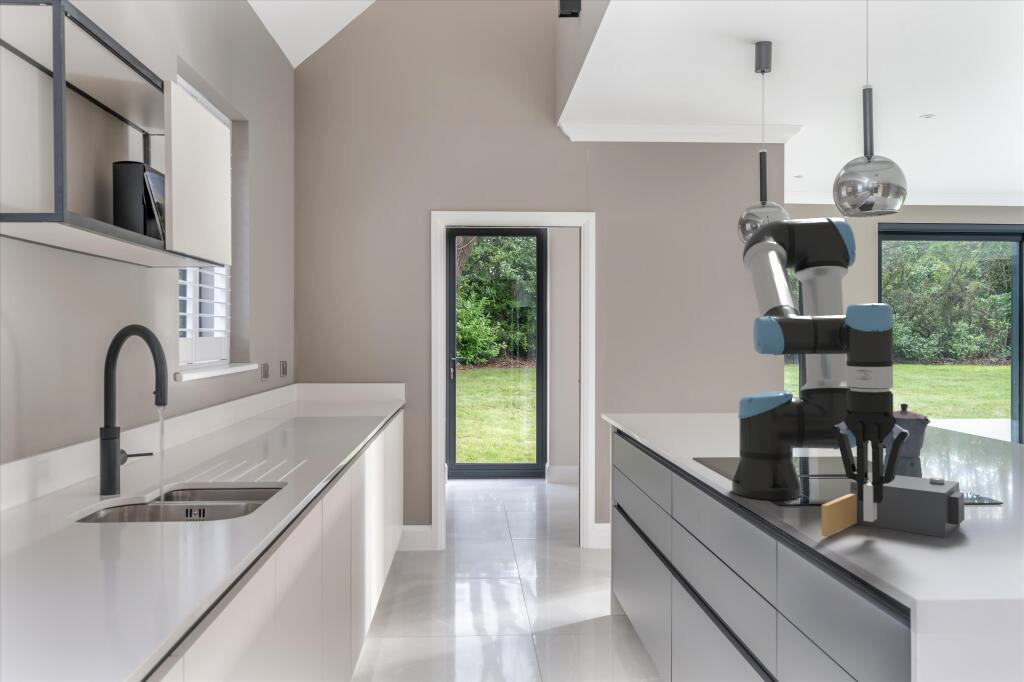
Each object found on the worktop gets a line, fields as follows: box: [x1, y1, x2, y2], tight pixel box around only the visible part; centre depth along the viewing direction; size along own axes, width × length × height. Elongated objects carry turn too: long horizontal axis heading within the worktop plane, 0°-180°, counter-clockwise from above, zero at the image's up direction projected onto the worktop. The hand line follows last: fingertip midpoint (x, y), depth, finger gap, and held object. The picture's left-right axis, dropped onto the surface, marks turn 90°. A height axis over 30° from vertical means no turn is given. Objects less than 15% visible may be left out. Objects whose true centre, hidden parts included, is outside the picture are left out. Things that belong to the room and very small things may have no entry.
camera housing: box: [849, 471, 965, 539], centre depth 137 cm, size 18×12×9 cm
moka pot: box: [883, 403, 931, 478], centre depth 168 cm, size 10×15×20 cm, turn 28°
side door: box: [821, 490, 859, 537], centre depth 133 cm, size 14×1×6 cm, turn 133°
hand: (870, 519), depth 129 cm, fingers closed
